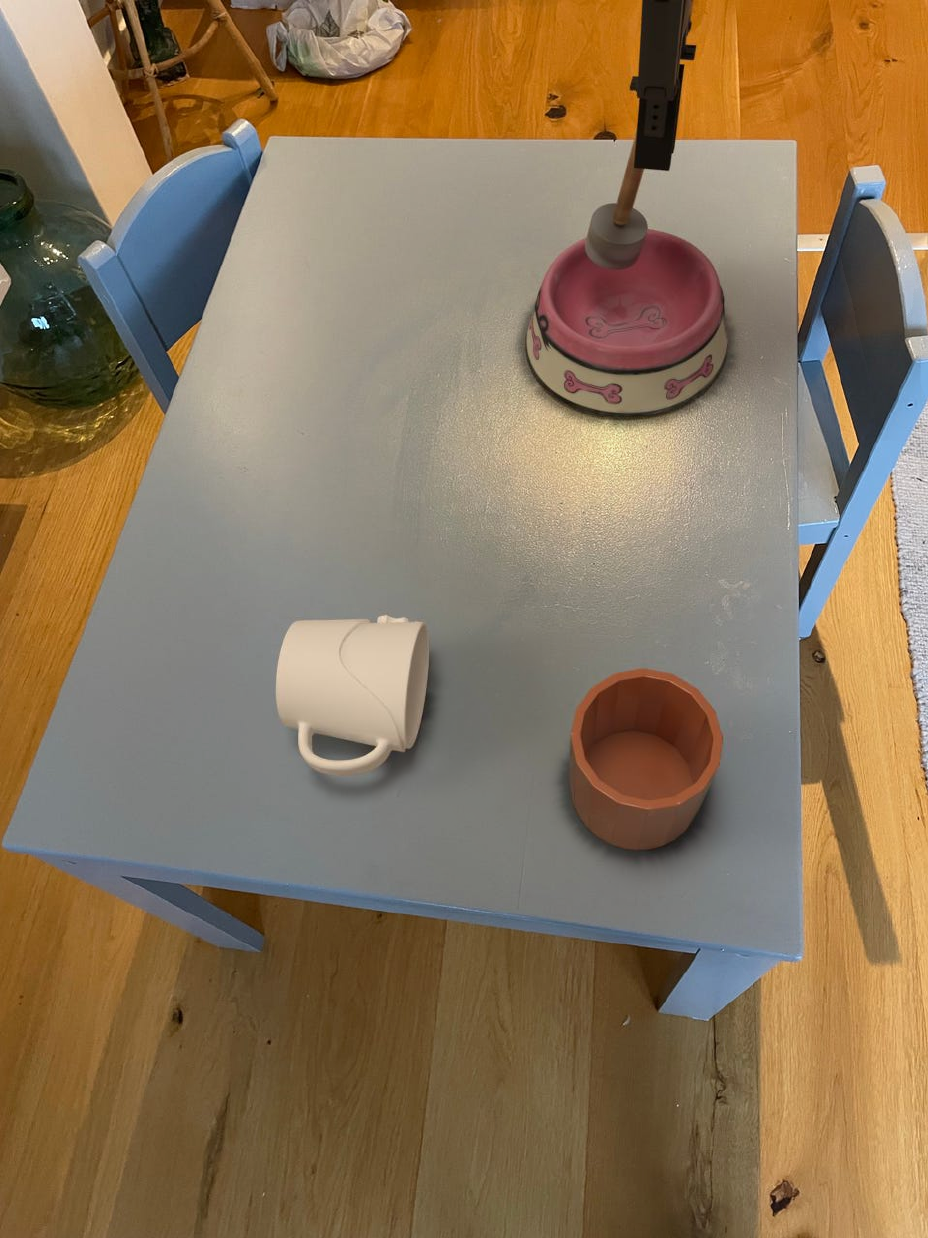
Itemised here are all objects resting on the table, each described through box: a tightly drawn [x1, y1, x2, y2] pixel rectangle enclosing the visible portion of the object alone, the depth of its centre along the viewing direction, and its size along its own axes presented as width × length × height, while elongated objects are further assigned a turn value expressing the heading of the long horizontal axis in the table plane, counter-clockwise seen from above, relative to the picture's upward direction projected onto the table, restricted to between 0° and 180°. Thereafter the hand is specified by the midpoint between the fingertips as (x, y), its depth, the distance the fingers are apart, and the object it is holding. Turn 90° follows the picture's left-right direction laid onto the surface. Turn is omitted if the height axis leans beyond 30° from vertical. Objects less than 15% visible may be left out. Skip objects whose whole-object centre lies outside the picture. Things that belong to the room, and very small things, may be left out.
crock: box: [568, 667, 724, 851], centre depth 62 cm, size 9×9×10 cm
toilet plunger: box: [585, 0, 693, 270], centre depth 71 cm, size 5×5×21 cm
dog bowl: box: [524, 229, 729, 419], centre depth 83 cm, size 18×19×7 cm
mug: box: [275, 614, 430, 777], centre depth 68 cm, size 12×9×8 cm
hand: (654, 156), depth 72 cm, fingers closed on toilet plunger
